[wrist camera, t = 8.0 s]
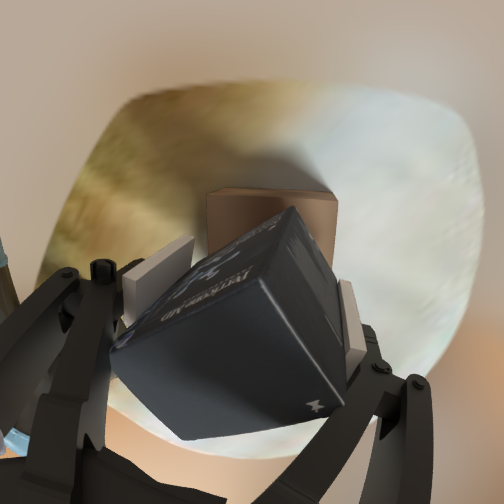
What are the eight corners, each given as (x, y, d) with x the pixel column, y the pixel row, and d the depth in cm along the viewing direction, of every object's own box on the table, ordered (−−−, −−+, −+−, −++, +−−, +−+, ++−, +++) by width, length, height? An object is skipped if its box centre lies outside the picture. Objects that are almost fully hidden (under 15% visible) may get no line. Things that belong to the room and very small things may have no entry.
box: (293, 201, 16) (261, 275, 6) (338, 279, 17) (355, 415, 7) (193, 261, 19) (94, 357, 9) (239, 325, 20) (183, 445, 10)
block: (228, 281, 26) (211, 307, 22) (227, 187, 23) (206, 194, 19) (323, 290, 25) (324, 320, 20) (332, 192, 22) (338, 201, 17)
